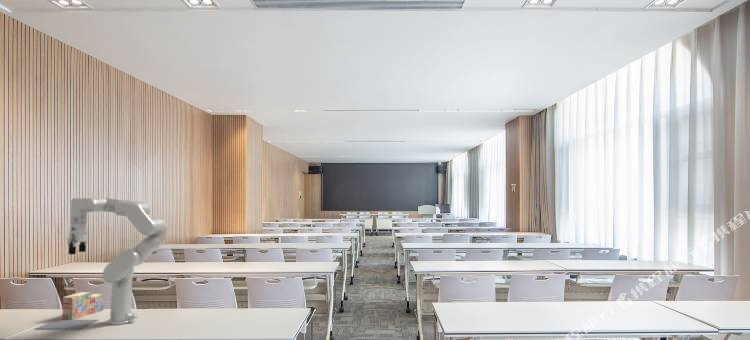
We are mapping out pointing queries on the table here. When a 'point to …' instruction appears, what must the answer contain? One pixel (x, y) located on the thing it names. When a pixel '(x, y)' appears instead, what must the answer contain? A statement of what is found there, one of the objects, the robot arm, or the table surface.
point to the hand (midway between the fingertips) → (77, 252)
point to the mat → (67, 324)
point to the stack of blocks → (81, 305)
